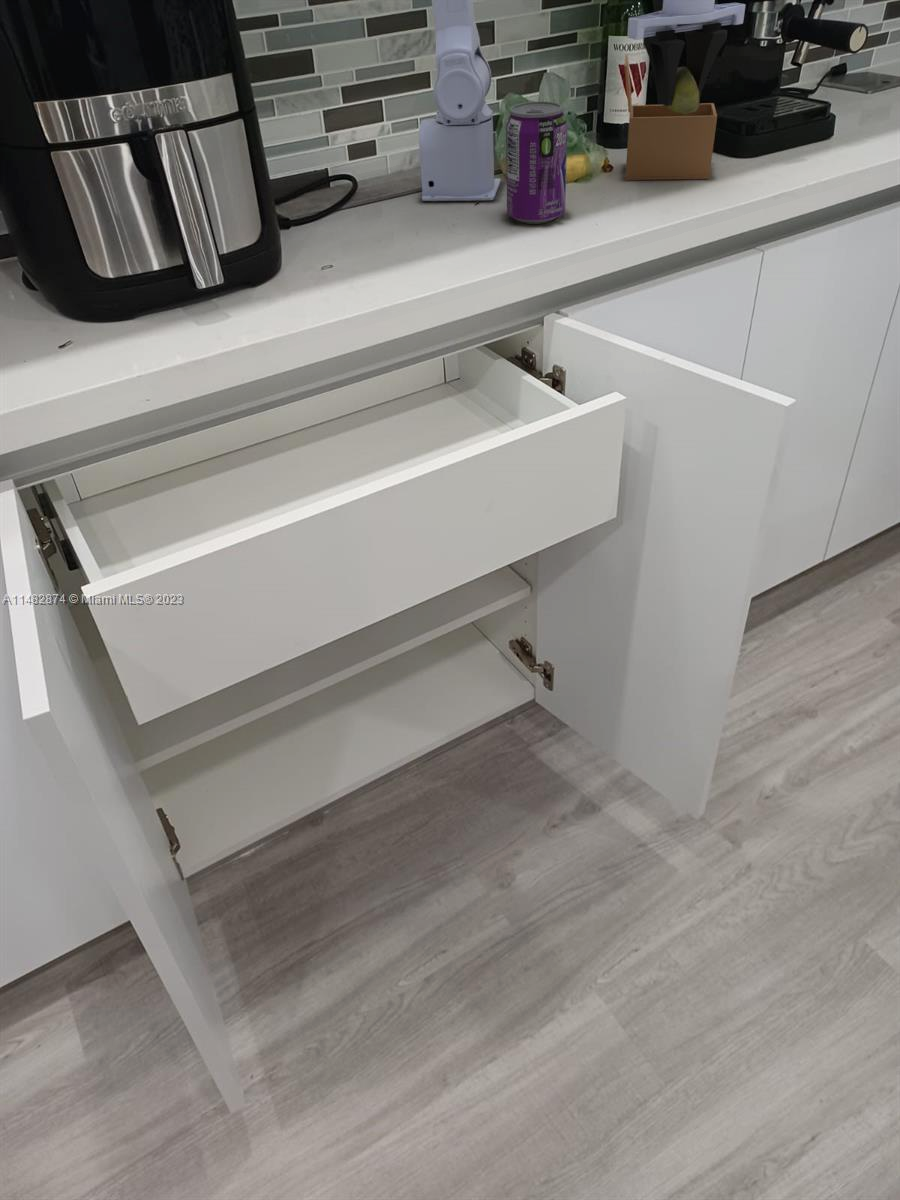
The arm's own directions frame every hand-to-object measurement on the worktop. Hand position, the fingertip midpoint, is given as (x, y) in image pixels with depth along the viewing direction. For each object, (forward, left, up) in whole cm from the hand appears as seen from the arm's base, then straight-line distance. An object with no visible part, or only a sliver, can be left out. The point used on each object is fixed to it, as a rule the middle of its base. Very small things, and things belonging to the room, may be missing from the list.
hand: (678, 101), depth 106 cm
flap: (-6, +7, +1) cm, 9 cm away
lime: (0, 0, -2) cm, 2 cm away
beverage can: (-16, -11, -10) cm, 22 cm away
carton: (0, +7, -10) cm, 12 cm away
